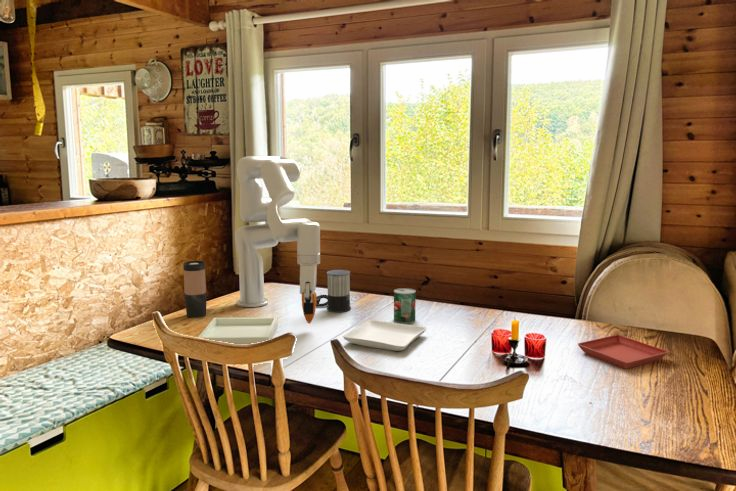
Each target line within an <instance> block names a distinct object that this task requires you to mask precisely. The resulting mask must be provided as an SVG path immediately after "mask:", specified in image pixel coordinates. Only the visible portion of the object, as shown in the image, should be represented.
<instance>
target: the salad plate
mask: <svg viewBox="0 0 736 491" xmlns="http://www.w3.org/2000/svg"><path fill="white" fill-rule="evenodd" d="M426 330H427V327H424V326H417V325H410V324H403V323H397V322H391V321H383V320H381V321H380V320H375V319H374V320H372V319H370V320H367V321H366V322H364V323H362V324H360V325H359V326H357V327H355V328H353V329H352V330H350V331H349V332H347V333H346V334H344V335H343V336H342V338H343V339H344V340H345V341H347V342H349V343H351V344H355V345H357V346H362V347H367V348H375V349H382V350H388V351H399V352H401V351H403V350H405V349H406V348H407V347H408V346H409V345H410V344H412V343H413V341H415V340H416V339H417V338H419V337H420V336H422V335H423V334H424V333H425V332H426Z"/></svg>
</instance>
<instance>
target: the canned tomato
mask: <svg viewBox="0 0 736 491" xmlns="http://www.w3.org/2000/svg"><path fill="white" fill-rule="evenodd" d="M416 292H417V291H416V289H413V288H409V287H406V288H405V287H404V288H402V287H400V288H396V289H394V290H393V321H394V323H399V324H405V325H408V324H414V323H415V322H416V297H417V296H416V294H417V293H416Z"/></svg>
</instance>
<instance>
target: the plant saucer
mask: <svg viewBox="0 0 736 491" xmlns="http://www.w3.org/2000/svg"><path fill="white" fill-rule="evenodd" d="M577 346H578V347H579V348H580V349H581V350H582V352H584V354H586V355H588V356H591V357H594V358H596V359H599V360H601V361H603V362H606V363H609V364H612V365H614V366H617V367H619V368H622V369H625V370H627V369H632V368H636V367H639V366H643V365H646V364H650V363H654V362H657V361H660V360H661V359H663V358H664V357H665V356H666V355H667V354H669V351H668V350H665V349H663V348H660V347H656V346H653V345H650V344H648V343H644V342H641V341H639V340H637V339H636V340H635V339H633V338H630V337H627V336H623V335H620V334H613V335H609V336H604V337H600V338H595V339H591V340H587V341H583V342H578V343H577Z"/></svg>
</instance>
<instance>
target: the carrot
mask: <svg viewBox="0 0 736 491" xmlns="http://www.w3.org/2000/svg"><path fill="white" fill-rule="evenodd" d="M310 293H311V292H310ZM310 297H311V295H310ZM316 297H317V292H316V291H315V292H314V294H313V300H312V302H313V314H304V292H303V293H302V294H301V307H302V308H301V309H302V312H303V317H304V318H305V320H306V323H307V324H311V323H312V321H313V320H314V318H315V314H316V310H317V306H316Z"/></svg>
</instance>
